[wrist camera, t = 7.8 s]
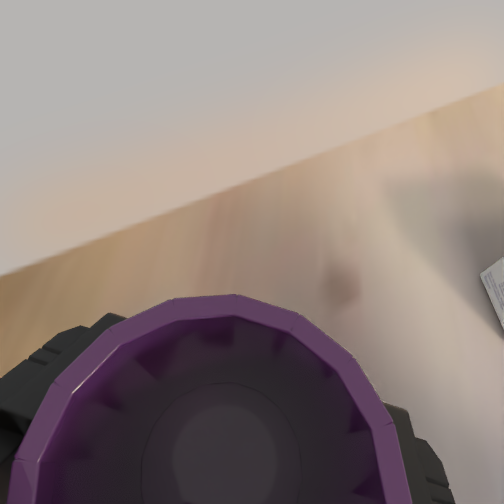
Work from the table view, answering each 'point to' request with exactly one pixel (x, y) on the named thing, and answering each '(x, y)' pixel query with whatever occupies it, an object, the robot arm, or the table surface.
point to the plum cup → (211, 416)
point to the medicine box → (495, 286)
